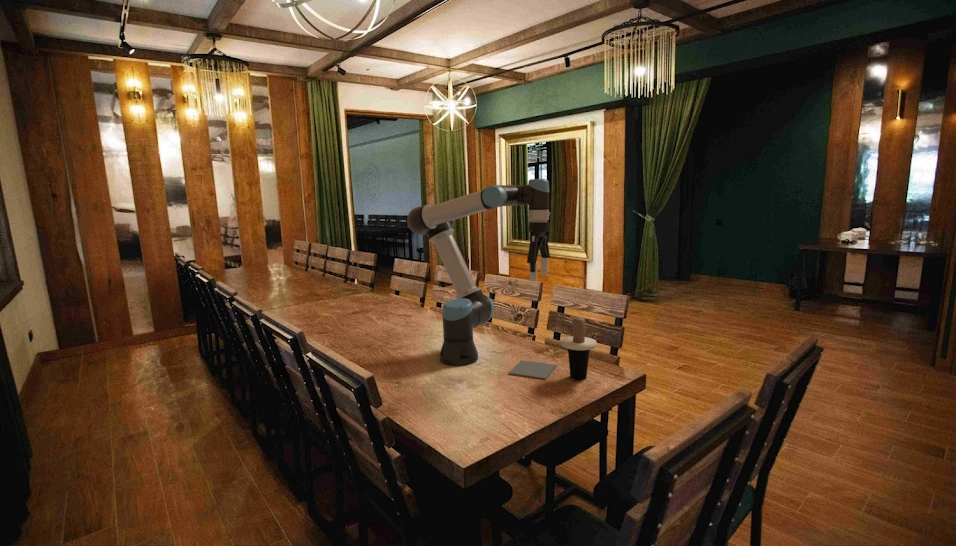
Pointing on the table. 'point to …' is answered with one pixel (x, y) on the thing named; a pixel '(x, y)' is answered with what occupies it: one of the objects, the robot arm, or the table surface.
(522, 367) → the mat
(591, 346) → the lid
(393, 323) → the table surface
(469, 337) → the robot arm
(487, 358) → the table surface
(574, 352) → the cup
